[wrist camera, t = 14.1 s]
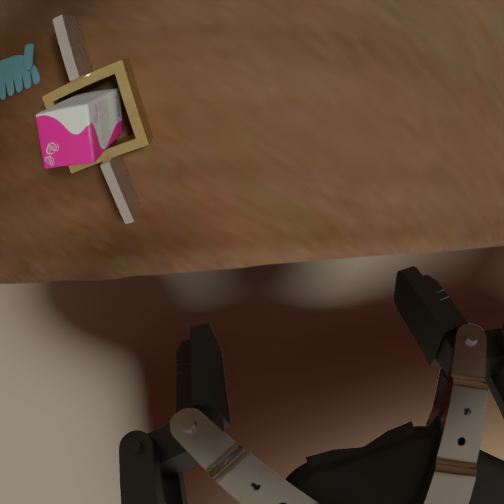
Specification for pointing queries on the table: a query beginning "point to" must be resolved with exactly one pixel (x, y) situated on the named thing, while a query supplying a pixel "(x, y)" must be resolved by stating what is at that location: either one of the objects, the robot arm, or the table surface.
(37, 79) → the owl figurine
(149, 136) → the square frame with handle
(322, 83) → the table surface
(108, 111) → the supplement box
